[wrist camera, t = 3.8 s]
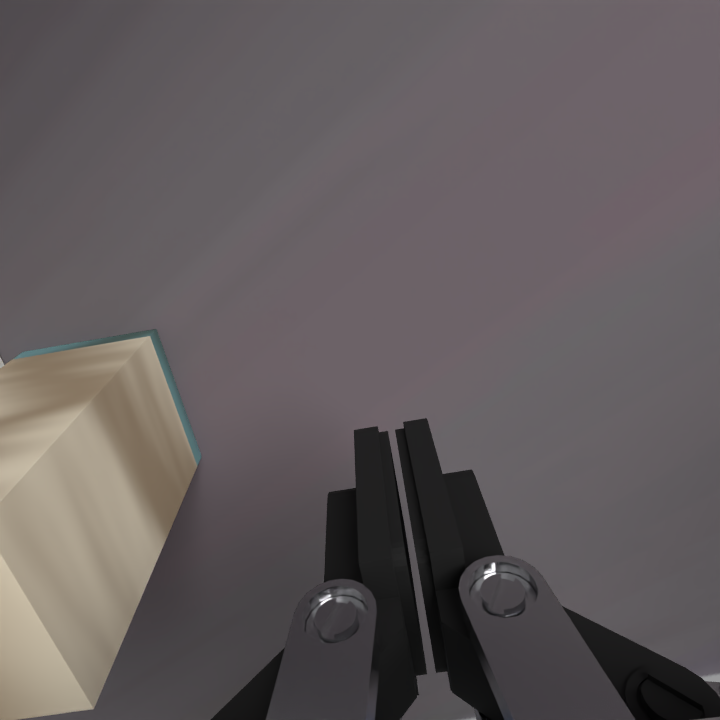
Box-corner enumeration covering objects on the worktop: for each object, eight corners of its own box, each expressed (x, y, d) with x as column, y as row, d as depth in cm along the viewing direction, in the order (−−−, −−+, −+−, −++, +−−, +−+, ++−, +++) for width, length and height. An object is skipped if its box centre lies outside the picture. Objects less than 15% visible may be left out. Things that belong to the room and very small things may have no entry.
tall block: (156, 328, 17) (-19, 522, 9) (201, 456, 19) (93, 708, 11) (22, 352, 17) (-269, 561, 9) (81, 475, 19) (-113, 737, 11)
